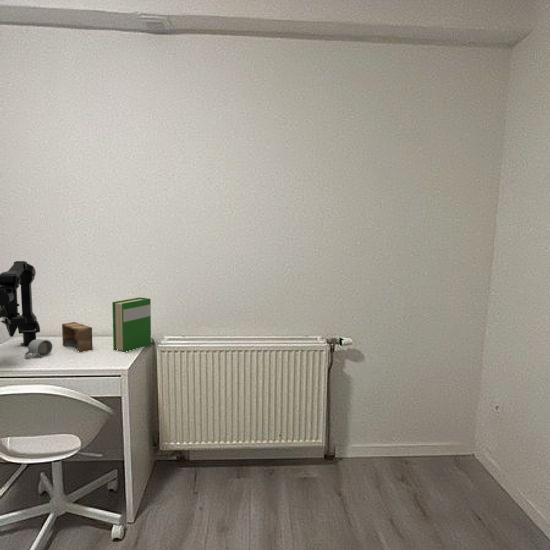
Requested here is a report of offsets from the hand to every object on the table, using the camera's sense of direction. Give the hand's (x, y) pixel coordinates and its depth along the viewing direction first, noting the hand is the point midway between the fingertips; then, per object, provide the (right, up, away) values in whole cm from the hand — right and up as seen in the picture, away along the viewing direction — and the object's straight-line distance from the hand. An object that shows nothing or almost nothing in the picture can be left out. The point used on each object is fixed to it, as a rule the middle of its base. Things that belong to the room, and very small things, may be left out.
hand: (11, 336), depth 187 cm
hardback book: (+45, -9, +26) cm, 53 cm away
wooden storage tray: (+18, -9, +23) cm, 31 cm away
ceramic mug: (+7, -11, +9) cm, 15 cm away
